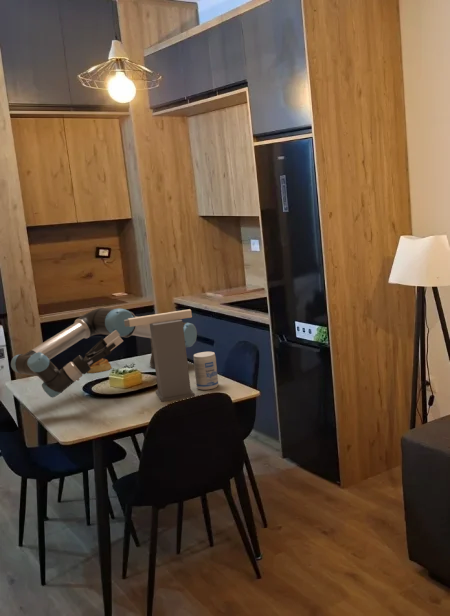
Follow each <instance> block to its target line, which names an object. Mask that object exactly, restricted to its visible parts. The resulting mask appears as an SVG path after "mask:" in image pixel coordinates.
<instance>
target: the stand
mask: <svg viewBox="0 0 450 616" xmlns="http://www.w3.org/2000/svg"><path fill="white" fill-rule="evenodd" d="M183 323H184V322H183V320H182V319H178V320H171V321H165V322H158V323H151V324H150V331H151V339H152V347H153V354H154V362H155V368H154V370H155V377H156V384H157V389H155V394H156V396H157V397H158V399H159V401H160V402H161V403H162V402H168V401H174V400H180V399H185V398H191V397H195V392H194V391H193V390H192V389H191V381H190V372H189V364H188V357H187V356H188V355H187V347H186V346H185V338H184V329H183Z"/></svg>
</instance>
